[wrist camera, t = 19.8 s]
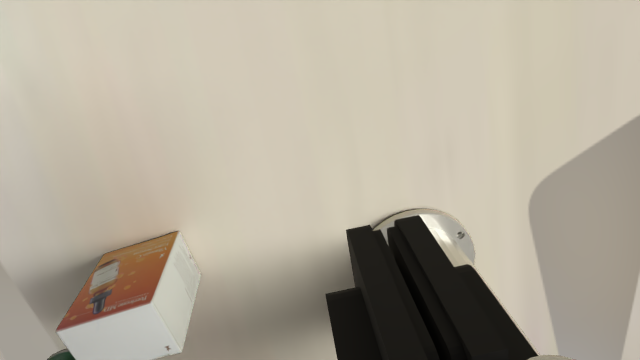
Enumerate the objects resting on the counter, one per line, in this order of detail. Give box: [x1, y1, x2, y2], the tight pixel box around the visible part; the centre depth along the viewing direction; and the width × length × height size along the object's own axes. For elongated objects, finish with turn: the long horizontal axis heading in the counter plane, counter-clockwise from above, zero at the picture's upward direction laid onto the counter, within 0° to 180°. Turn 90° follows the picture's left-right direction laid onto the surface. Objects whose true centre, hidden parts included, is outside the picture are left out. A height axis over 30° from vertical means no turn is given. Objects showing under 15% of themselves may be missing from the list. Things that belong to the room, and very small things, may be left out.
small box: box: [56, 231, 201, 360], centre depth 38 cm, size 8×6×10 cm
